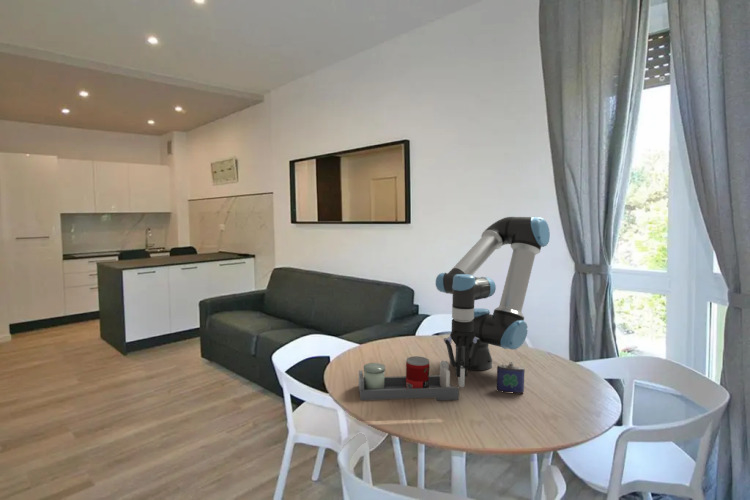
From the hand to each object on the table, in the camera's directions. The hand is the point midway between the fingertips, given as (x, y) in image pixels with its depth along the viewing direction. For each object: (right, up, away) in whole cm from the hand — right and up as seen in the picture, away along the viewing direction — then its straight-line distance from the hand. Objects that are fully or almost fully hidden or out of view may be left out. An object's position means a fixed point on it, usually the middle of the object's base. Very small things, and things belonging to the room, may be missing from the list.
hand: (461, 385), depth 150 cm
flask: (+17, -3, +1) cm, 18 cm away
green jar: (-30, -2, -3) cm, 31 cm away
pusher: (-6, -1, 0) cm, 6 cm away
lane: (-19, -2, -1) cm, 19 cm away
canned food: (-15, -2, -1) cm, 16 cm away
